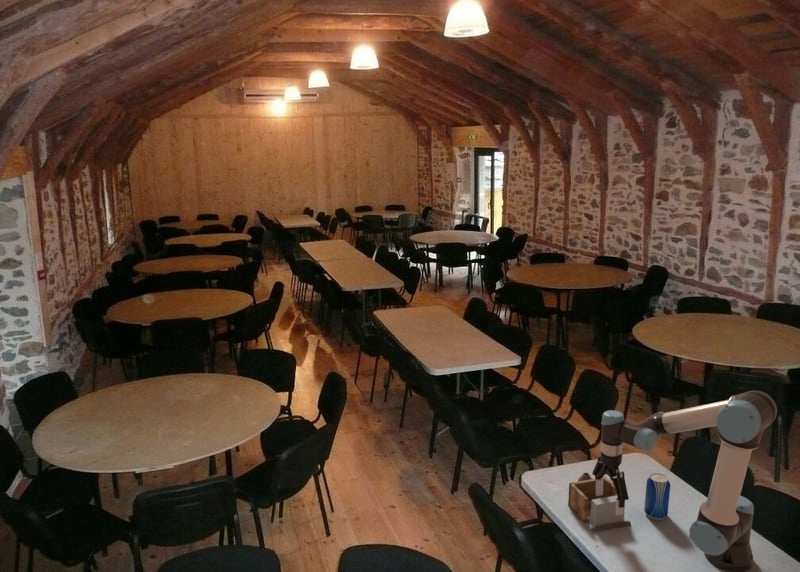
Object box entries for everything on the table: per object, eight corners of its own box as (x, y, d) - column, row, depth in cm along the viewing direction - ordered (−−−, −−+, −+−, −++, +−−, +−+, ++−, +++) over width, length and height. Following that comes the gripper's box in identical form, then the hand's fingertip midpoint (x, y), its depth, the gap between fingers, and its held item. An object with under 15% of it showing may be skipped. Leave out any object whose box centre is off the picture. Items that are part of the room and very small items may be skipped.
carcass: (630, 524, 246) (632, 501, 243) (592, 532, 242) (593, 508, 240) (604, 499, 263) (605, 476, 260) (568, 505, 259) (569, 482, 256)
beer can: (669, 522, 247) (672, 484, 243) (645, 520, 249) (649, 482, 245) (665, 509, 255) (668, 472, 251) (642, 507, 257) (645, 470, 253)
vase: (591, 488, 270) (592, 469, 268) (595, 498, 264) (597, 478, 262) (574, 488, 271) (575, 469, 269) (578, 498, 264) (579, 478, 262)
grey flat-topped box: (625, 525, 246) (627, 501, 244) (596, 530, 243) (598, 506, 241) (618, 518, 250) (619, 494, 248) (590, 523, 247) (591, 499, 245)
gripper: (640, 466, 229) (637, 520, 234) (601, 436, 253) (599, 486, 258) (621, 469, 227) (619, 524, 232) (584, 439, 251) (582, 489, 256)
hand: (609, 504), depth 245 cm, fingers open, 13 cm apart
